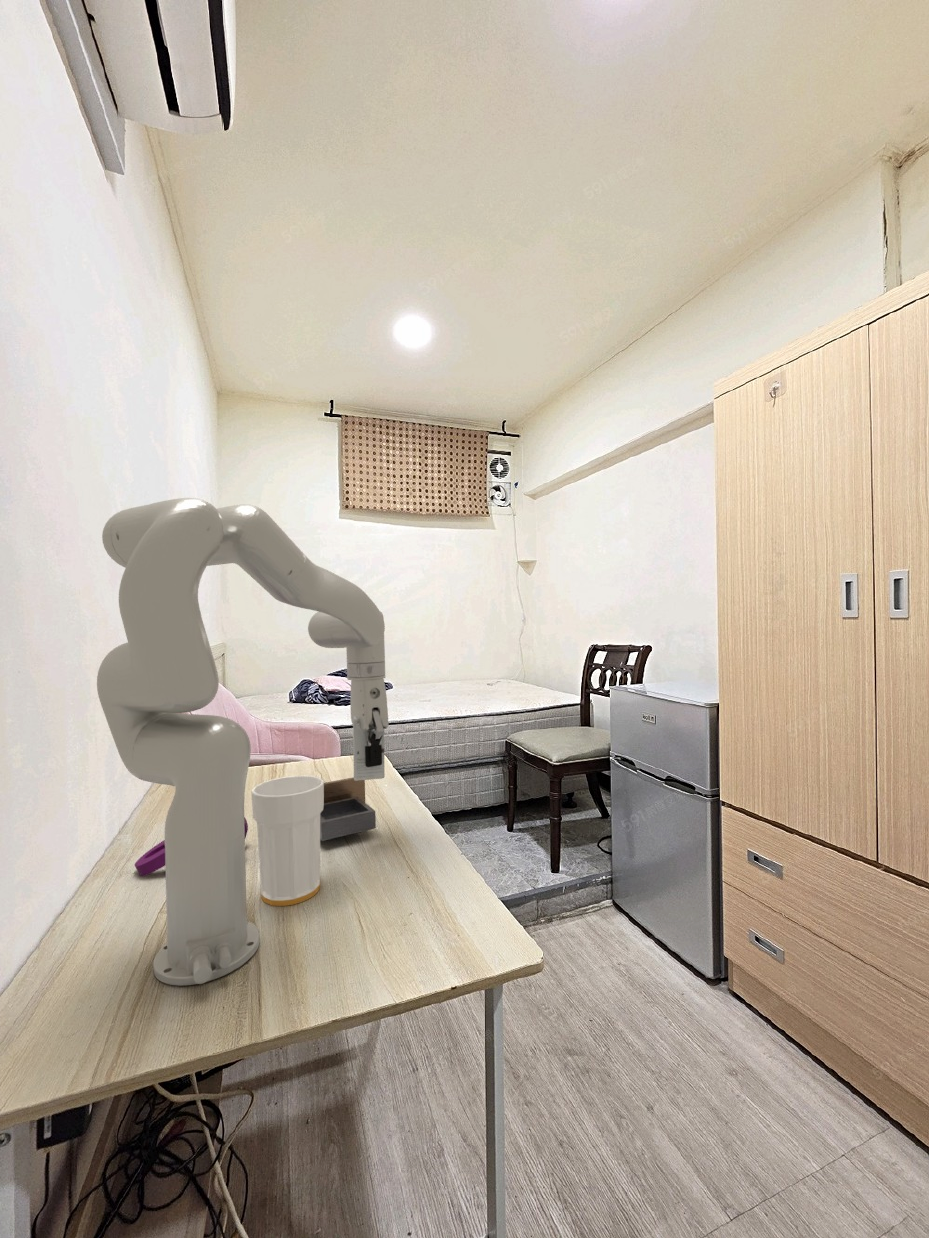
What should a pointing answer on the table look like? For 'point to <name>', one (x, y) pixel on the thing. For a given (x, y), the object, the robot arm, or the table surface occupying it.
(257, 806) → the cup
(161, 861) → the mounting bracket
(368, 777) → the skincare box
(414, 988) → the table surface
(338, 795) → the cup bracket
